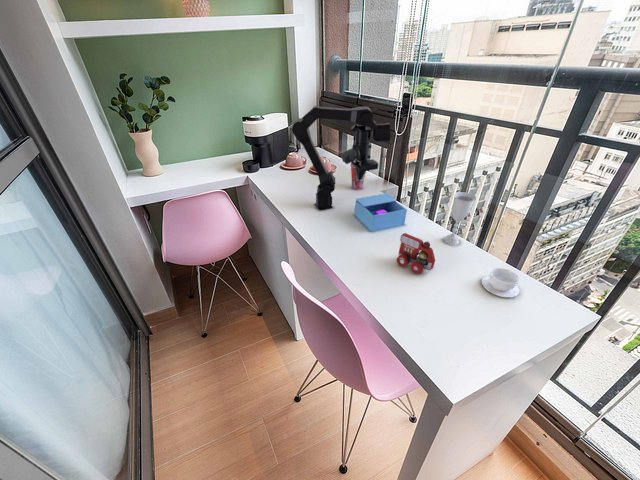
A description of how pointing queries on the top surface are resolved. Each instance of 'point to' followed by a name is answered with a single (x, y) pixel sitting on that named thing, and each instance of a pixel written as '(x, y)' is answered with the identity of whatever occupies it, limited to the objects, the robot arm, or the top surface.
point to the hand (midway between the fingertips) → (359, 179)
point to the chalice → (459, 213)
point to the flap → (375, 199)
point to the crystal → (380, 212)
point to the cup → (356, 178)
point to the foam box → (381, 215)
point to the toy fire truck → (415, 254)
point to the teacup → (502, 282)
